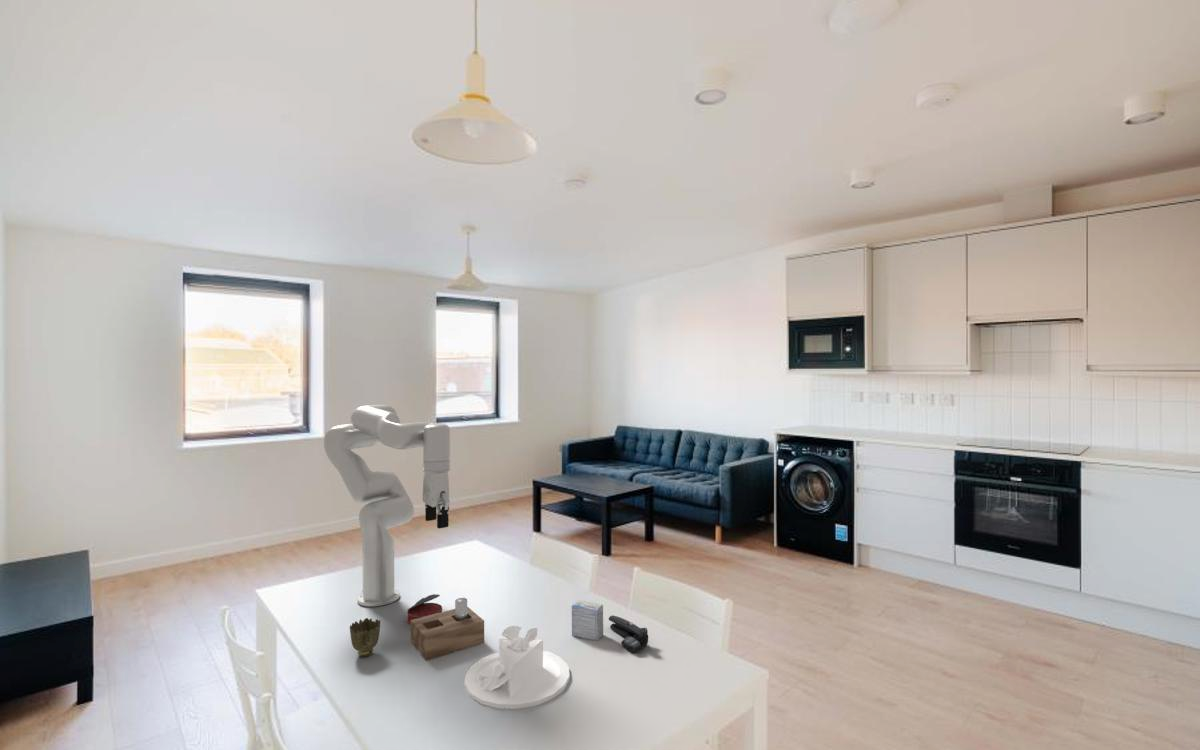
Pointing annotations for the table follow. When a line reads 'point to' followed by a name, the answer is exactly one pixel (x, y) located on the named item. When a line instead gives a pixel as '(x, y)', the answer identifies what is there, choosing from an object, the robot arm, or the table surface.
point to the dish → (517, 673)
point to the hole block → (446, 633)
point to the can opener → (630, 633)
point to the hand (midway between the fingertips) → (436, 523)
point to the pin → (460, 609)
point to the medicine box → (587, 620)
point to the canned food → (424, 608)
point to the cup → (365, 636)
